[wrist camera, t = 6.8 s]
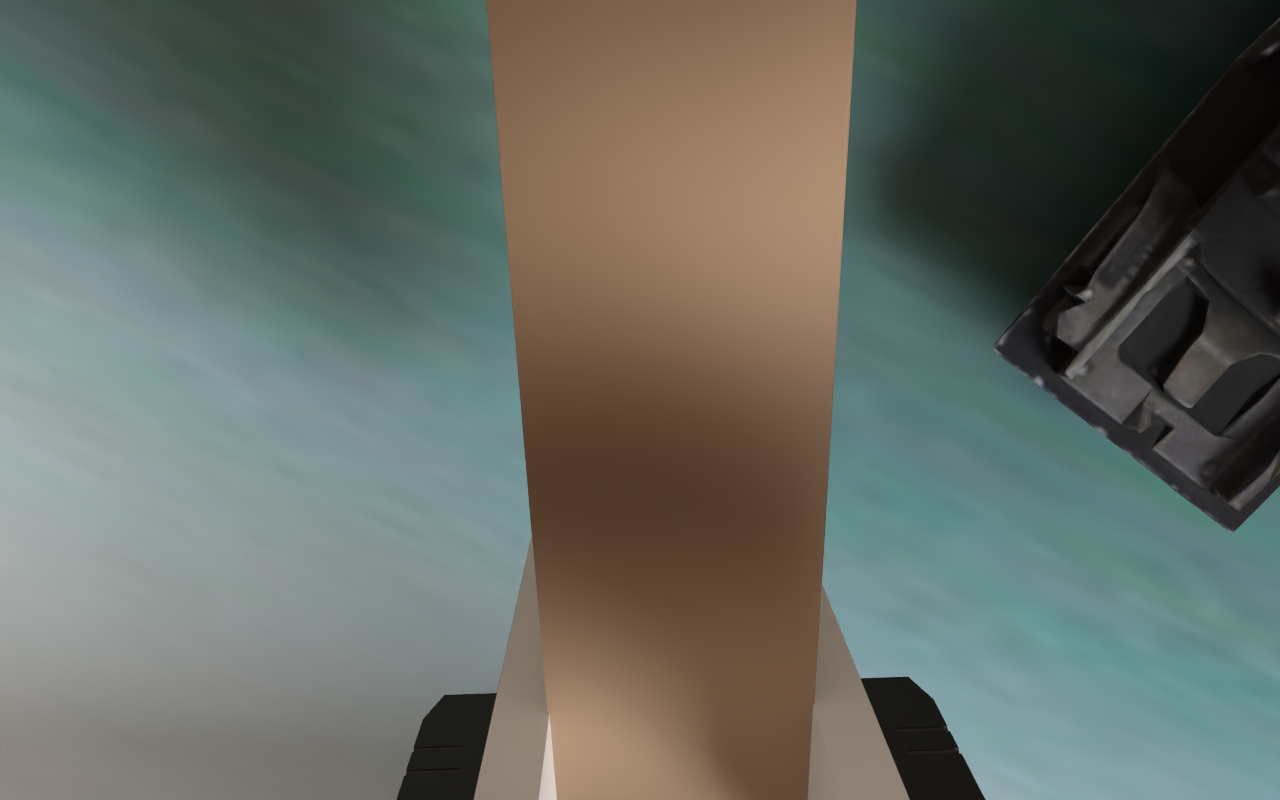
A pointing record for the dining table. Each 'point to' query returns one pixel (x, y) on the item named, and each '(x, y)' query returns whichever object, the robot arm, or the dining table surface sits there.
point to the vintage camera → (1181, 303)
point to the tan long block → (676, 374)
